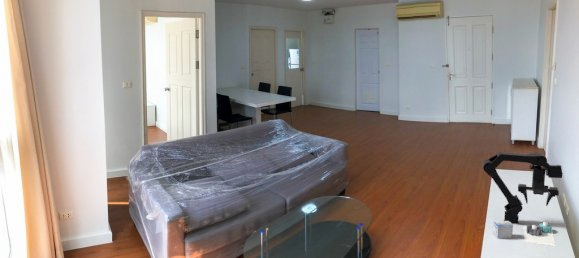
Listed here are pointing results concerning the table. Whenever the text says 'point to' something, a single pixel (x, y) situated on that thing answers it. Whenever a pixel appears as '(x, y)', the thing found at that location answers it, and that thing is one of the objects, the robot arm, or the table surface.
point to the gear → (534, 231)
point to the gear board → (541, 239)
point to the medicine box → (503, 229)
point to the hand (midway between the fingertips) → (536, 204)
